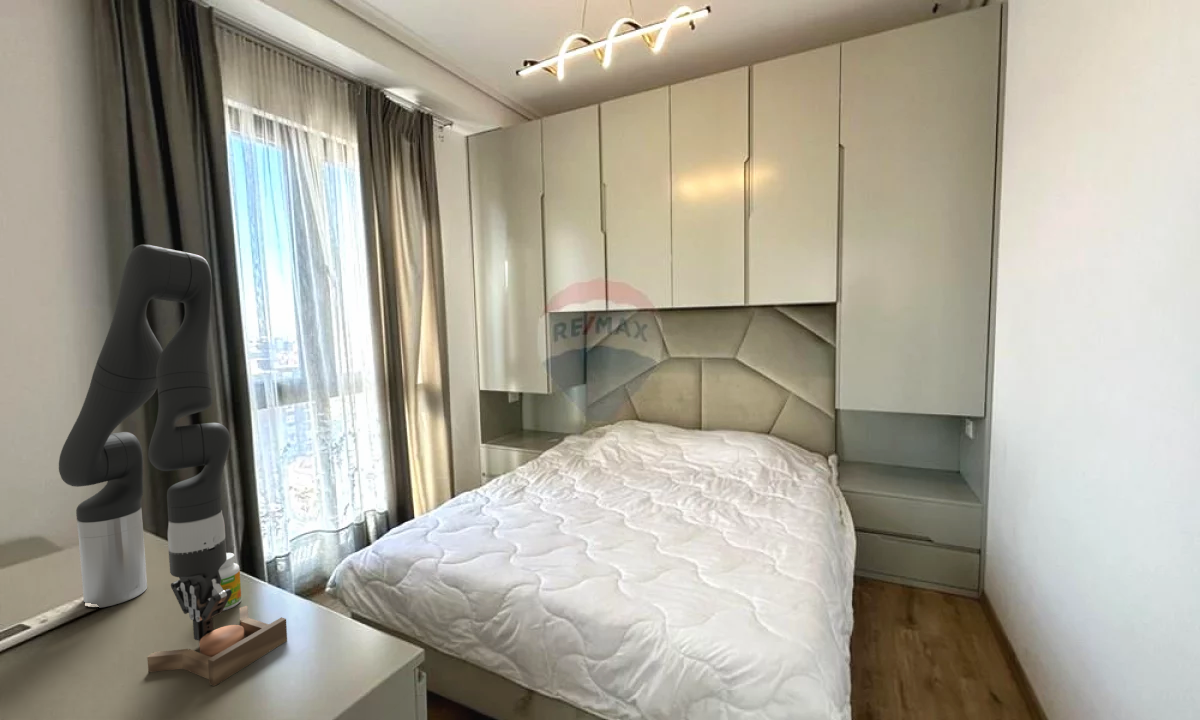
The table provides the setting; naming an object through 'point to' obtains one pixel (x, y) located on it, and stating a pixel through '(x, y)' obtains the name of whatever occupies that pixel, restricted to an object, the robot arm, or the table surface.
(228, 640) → the salmon orange rounded piece
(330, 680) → the table surface
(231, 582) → the supplement bottle
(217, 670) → the dock
